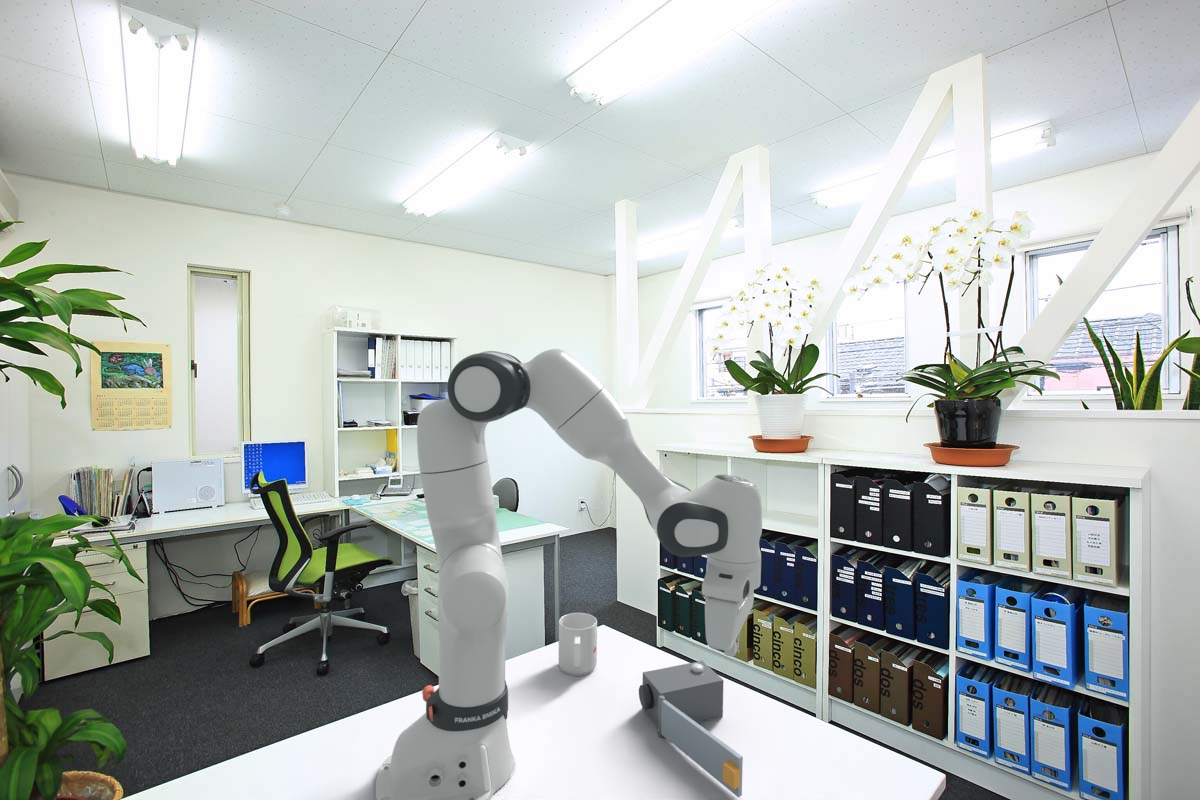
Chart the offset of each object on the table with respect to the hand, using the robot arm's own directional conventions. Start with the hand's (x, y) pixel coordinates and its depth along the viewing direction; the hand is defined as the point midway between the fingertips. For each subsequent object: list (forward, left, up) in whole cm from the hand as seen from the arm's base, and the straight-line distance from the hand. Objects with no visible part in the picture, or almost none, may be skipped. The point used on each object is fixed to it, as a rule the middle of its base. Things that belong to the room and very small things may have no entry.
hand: (731, 652), depth 93 cm
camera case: (+1, +18, -21) cm, 28 cm away
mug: (-14, +40, -21) cm, 47 cm away
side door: (-5, +4, -21) cm, 22 cm away
